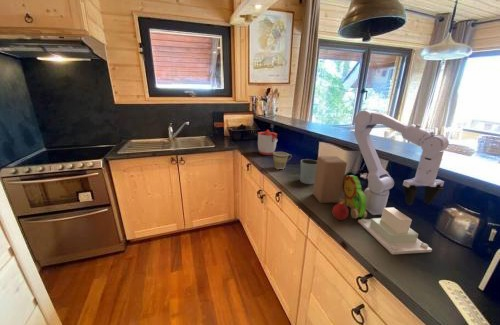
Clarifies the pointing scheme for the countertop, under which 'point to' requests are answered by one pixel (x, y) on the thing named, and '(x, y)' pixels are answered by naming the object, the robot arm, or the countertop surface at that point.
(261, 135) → the citrus juicer
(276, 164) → the ceramic cup
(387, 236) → the white studded slab
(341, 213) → the onion
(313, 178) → the grey cylindrical container
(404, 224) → the cream brick
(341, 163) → the block
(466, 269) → the countertop surface
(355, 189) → the toy lion
